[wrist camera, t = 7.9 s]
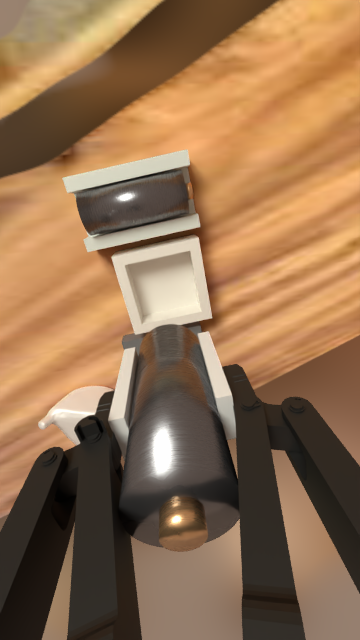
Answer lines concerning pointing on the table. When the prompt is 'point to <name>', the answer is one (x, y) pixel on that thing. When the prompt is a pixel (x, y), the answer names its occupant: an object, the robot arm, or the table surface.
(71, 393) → the white rounded lump
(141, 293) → the white square tray
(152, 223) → the trough
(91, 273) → the table surface
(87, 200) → the cell
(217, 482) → the cell
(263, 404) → the robot arm
